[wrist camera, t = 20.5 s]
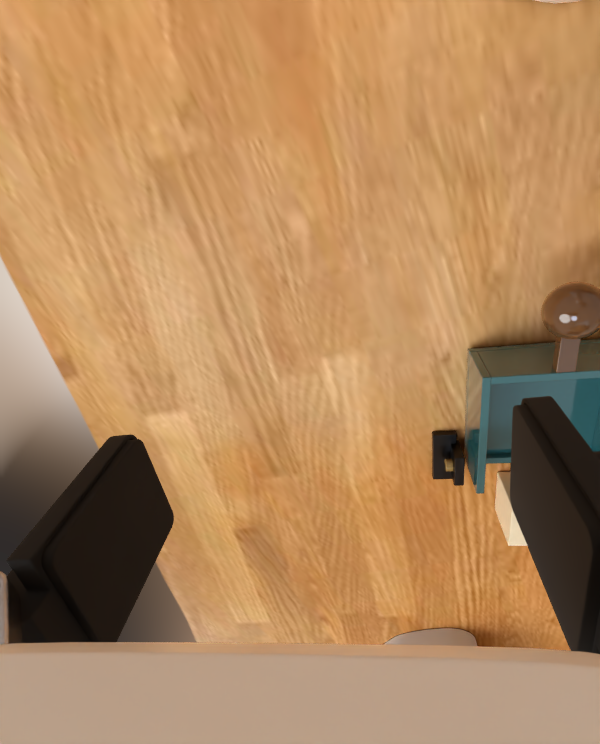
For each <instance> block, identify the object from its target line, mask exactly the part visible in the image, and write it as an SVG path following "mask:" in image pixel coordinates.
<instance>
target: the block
mask: <svg viewBox="0 0 600 744" xmlns="http://www.w3.org/2000/svg"><path fill="white" fill-rule="evenodd" d="M510 473H511V472H498V473H497V485H496V497H495V510H496V513H497V516H498V518H499V521H500V524H501V527H502V530H503V532H504V535H505V538H506V541H507V543H508V545H509V546H527V543H526V541H525V539H524V536H523V534H522V531H521V529H520V526H519V524H518V522H517V519H516V517H515V514H514V512H513V509H512V506H511V501H510Z"/></svg>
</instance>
